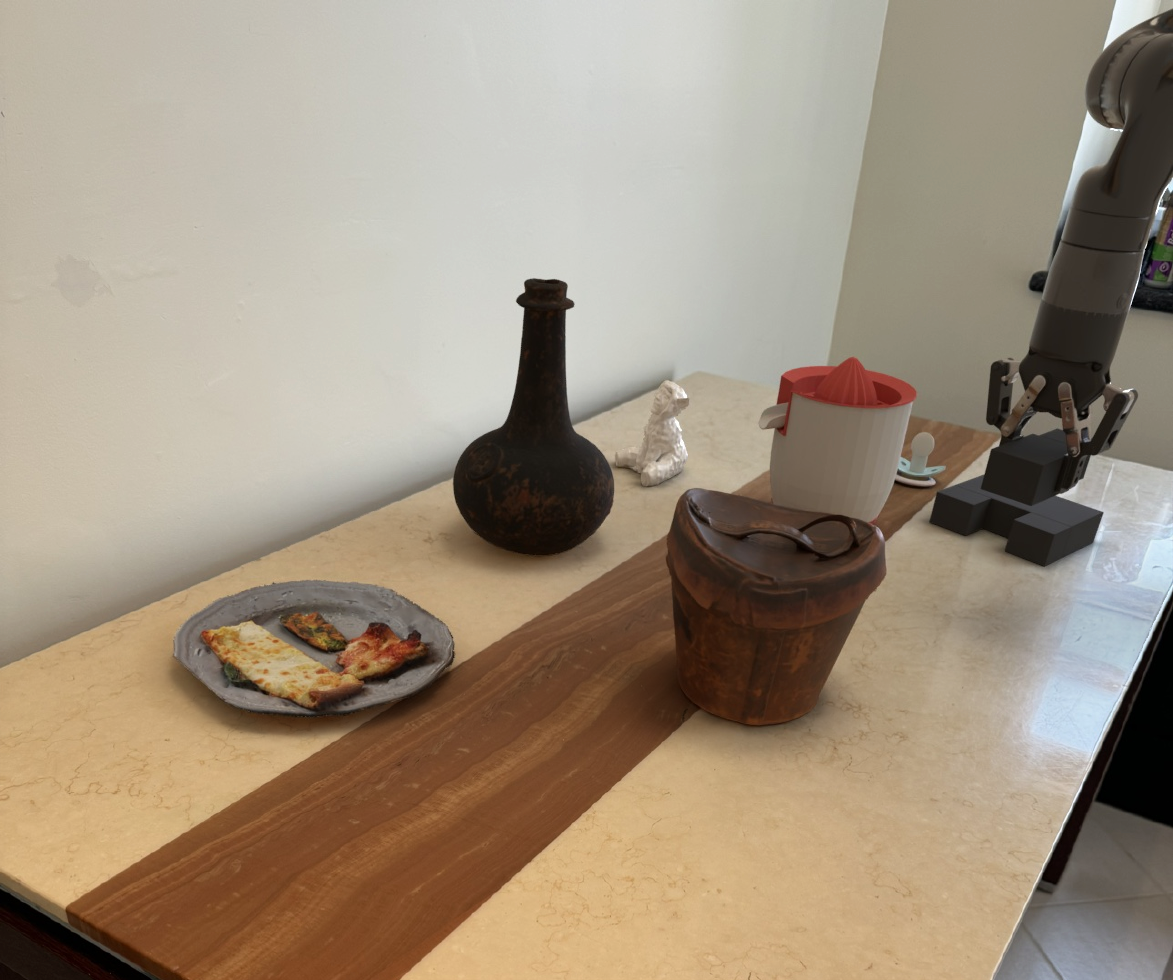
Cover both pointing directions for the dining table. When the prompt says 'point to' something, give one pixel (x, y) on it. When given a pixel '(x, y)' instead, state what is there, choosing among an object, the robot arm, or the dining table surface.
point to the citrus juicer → (837, 438)
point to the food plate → (314, 648)
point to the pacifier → (918, 463)
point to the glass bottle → (536, 449)
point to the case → (764, 601)
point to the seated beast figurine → (659, 439)
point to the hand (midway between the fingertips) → (1032, 481)
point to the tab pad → (1027, 467)
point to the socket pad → (1018, 521)
